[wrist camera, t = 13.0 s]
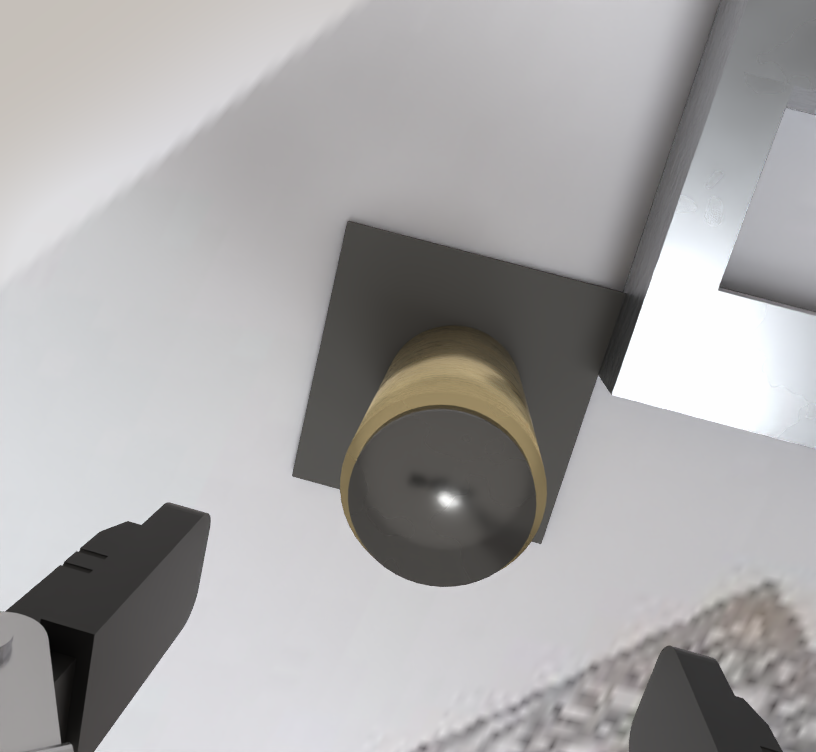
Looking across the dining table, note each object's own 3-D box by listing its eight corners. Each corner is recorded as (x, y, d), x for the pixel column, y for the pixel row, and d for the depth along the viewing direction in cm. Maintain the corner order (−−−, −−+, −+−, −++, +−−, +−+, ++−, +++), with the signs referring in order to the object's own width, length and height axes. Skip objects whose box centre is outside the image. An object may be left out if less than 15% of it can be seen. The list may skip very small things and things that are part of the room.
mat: (622, 292, 24) (625, 294, 24) (540, 539, 27) (541, 544, 27) (349, 221, 25) (347, 221, 24) (294, 472, 27) (292, 476, 27)
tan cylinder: (538, 344, 25) (577, 431, 15) (500, 470, 26) (515, 620, 17) (402, 310, 25) (360, 375, 15) (372, 437, 26) (316, 567, 17)
